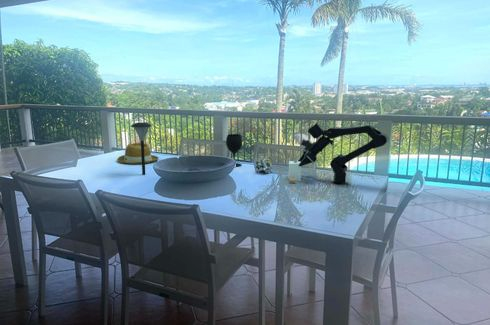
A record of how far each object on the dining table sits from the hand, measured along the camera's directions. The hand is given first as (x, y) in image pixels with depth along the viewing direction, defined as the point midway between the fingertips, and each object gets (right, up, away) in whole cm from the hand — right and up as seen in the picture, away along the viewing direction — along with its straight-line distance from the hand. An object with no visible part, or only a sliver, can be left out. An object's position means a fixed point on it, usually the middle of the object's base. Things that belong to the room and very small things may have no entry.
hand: (298, 164), depth 204 cm
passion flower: (-19, -5, +18) cm, 26 cm away
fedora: (-103, +2, +49) cm, 114 cm away
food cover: (-2, -8, +2) cm, 9 cm away
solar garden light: (-88, -6, +10) cm, 89 cm away
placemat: (-3, -10, -2) cm, 10 cm away
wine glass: (-37, -1, +37) cm, 52 cm away
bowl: (-4, -10, -6) cm, 13 cm away
